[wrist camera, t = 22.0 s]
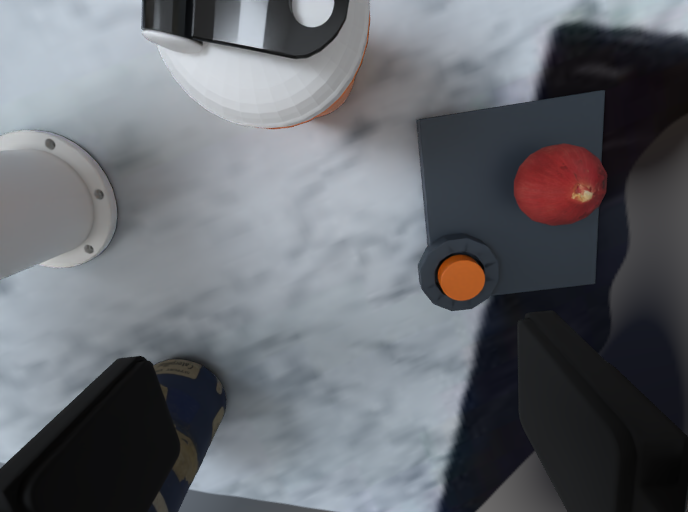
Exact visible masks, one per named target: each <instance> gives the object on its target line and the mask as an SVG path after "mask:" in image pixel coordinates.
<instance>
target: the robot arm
mask: <svg viewBox="0 0 688 512" xmlns="http://www.w3.org/2000/svg"><path fill="white" fill-rule="evenodd" d="M116 223H117V206H116V200H115V196H114V193H113V189H112V187H111V185H110V183H109V180H108V178H107V176H106V175H105V173H104V172H103V170H102V169H101V167H100V166H99V165H98V163H97V162H96V161H95V160H94V159H93V158H92V157H91V156H90V155H89V154H88V153H87V152H86V151H85V150H83V149H82V148H81V147H80V146H78V145H77V144H76V143H74V142H72V141H70V140H68V139H66V138H65V137H63V136H60V135H57V134H54V133H51V132H47V131H40V130H19V131H13V132H8V133H6V134H3V135H1V136H0V280H1V279H4V278H6V277H9V276H11V275H13V274H16V273H18V272H21V271H23V270H25V269H28V268H30V267H33V266H35V265H37V264H39V265H42V266H45V267H52V268H70V267H74V266H78V265H81V264H83V263H85V262H88V261H90V260H92V259H93V258H95V257H96V256H98V255H99V254H101V252H102V251H103V250H104V249H105V248H106V247H107V246H108V244H109V243H110V241H111V239H112V238H113V235H114V232H115V228H116ZM517 331H518V394H519V417H520V421H521V424H522V427H523V429H524V431H525V433H526V435H527V436H528V438H529V440H530V442H531V444H532V446H533V448H534V450H535V451H536V453H537V455H538V457H539V459H540V461H541V463H542V465H543V466H544V468H545V470H546V472H547V474H548V476H549V478H550V479H551V482H552V483H553V485H554V487H555V489H556V491H557V493H558V495H559V496H560V498H561V500H562V502H563V504H564V506H565V508H566V509H567V512H688V437H687V435H685V434H684V433H683V432H682V431H681V430H680V429H679V428H678V427H677V426H676V425H675V424H674V423H673V422H672V421H671V420H670V419H669V418H668V417H666V416H665V415H664V414H663V413H662V412H661V411H660V410H659V409H658V408H657V407H656V406H655V405H654V404H653V403H652V402H651V401H649V399H648V398H646V397H645V396H644V395H643V394H642V393H641V392H640V391H639V390H638V389H637V388H636V387H635V386H634V385H633V384H632V383H631V382H630V381H629V380H627V378H626V377H624V376H623V375H622V374H621V373H620V372H619V371H618V370H617V369H616V368H615V367H614V366H612V365H611V364H610V363H607V362H606V361H605V360H604V359H603V358H602V357H601V356H600V355H599V354H598V353H597V352H596V351H595V350H594V349H593V348H592V347H591V346H590V345H588V344H587V343H586V342H585V341H584V340H583V339H582V338H581V337H580V336H579V335H578V334H577V333H576V332H575V331H574V330H573V329H572V328H571V327H570V326H569V325H568V324H567V323H566V322H565V321H563V320H562V319H561V318H560V317H559V316H558V315H557V314H556V313H555V312H554V311H541V312H532V313H527V314H526V315H525V318H524V320H519V321H518V326H517ZM180 448H181V447H180V440H179V437H178V434H177V432H176V429H175V426H174V423H173V420H172V417H171V415H170V412H169V409H168V406H167V403H166V400H165V397H164V395H163V392H162V389H161V386H160V383H159V380H158V378H157V375H156V372H155V369H154V366H153V364H152V363H151V362H150V361H147V360H146V359H145V358H144V357H142V356H136V357H127V358H120V359H117V360H116V361H115V362H114V363H112V364H111V365H110V366H109V367H108V368H107V369H106V370H105V371H104V372H103V373H102V374H101V375H100V376H99V377H98V378H96V379H95V380H94V381H93V382H92V383H91V384H90V385H89V386H88V387H87V388H86V389H85V390H84V391H83V392H82V393H80V394H79V395H78V396H77V397H76V398H75V399H74V400H73V401H72V402H71V403H70V404H69V405H68V406H67V407H66V408H64V409H63V410H62V411H61V412H60V413H59V414H58V415H57V416H56V417H55V418H54V419H53V420H52V421H51V422H50V423H48V424H47V425H46V426H45V427H44V428H43V429H42V430H41V431H40V432H39V433H38V434H37V435H36V436H35V437H34V438H32V439H31V440H30V441H29V442H28V443H27V444H26V445H25V446H24V447H23V448H22V449H21V450H20V451H19V452H18V453H16V454H15V455H14V456H13V457H12V458H11V459H10V460H9V461H8V462H7V463H6V464H5V465H4V466H3V467H2V468H1V469H0V512H148V510H149V508H150V507H151V505H152V503H153V501H154V500H155V498H156V496H157V494H158V492H159V491H160V489H161V487H162V485H163V484H164V482H165V480H166V478H167V476H168V475H169V473H170V471H171V469H172V468H173V466H174V464H175V462H176V460H177V459H178V457H179V454H180Z"/></svg>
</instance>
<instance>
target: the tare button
mask: <svg viewBox="0 0 688 512" xmlns="http://www.w3.org/2000/svg"><path fill="white" fill-rule="evenodd" d="M438 281H439V284H440V286H441V288H442V290H443V292H444V293H445V294H446V295H447V296H448V297H450V298H452V299H454V300H459V301H464V300H469V299H471V298H473V297H475V296H476V295H478V294H479V293H480V292H481V290H482V289H483V287H484V284H485V274H484V271H483V269H482V268H481V267H480V265H479V264H478V263H477V262H476V261H475V260H474V259H473V258H471V257H469V256H467V255H454V256H451V257H449V258H448V259H446V260H445V261H444V262H443V263H442V264H441V266H440V268H439V270H438Z"/></svg>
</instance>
